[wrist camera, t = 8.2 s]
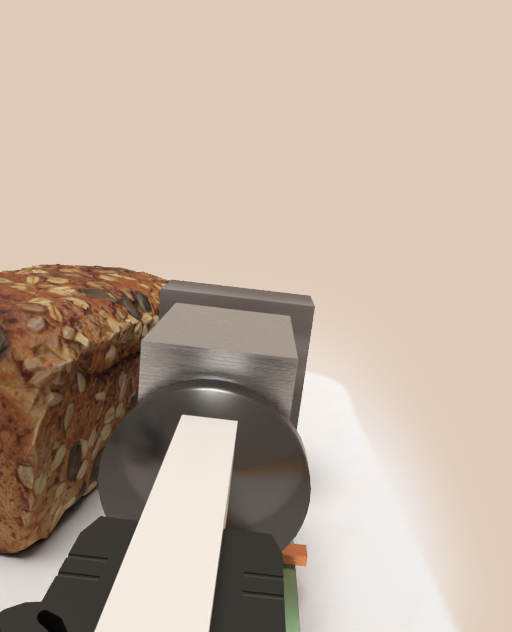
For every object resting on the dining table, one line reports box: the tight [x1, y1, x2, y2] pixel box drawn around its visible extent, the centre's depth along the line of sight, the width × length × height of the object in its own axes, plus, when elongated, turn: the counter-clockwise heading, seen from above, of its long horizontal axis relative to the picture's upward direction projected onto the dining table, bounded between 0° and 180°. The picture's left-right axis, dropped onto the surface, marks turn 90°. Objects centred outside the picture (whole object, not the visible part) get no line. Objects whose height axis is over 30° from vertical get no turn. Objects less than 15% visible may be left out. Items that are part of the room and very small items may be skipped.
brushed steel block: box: [98, 303, 311, 566], centre depth 16 cm, size 6×7×9 cm
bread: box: [0, 264, 171, 553], centre depth 26 cm, size 19×11×10 cm, turn 168°
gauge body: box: [159, 280, 315, 632], centre depth 14 cm, size 22×7×10 cm, turn 178°
